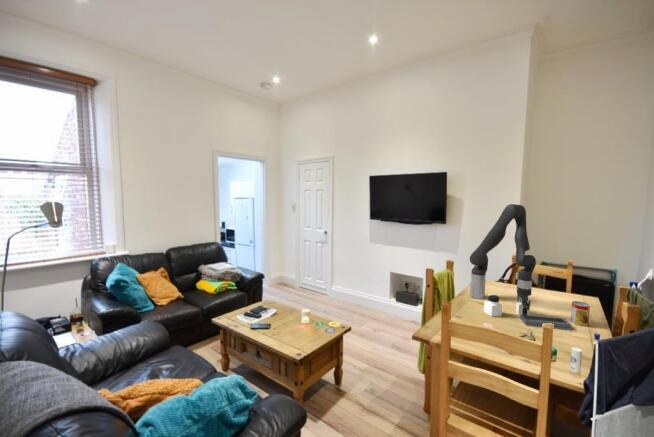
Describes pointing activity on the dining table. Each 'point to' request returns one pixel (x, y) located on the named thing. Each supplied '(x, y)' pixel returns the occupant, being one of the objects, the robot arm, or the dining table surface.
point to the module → (520, 308)
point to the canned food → (580, 313)
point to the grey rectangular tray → (545, 321)
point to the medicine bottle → (493, 306)
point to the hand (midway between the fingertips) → (522, 312)
